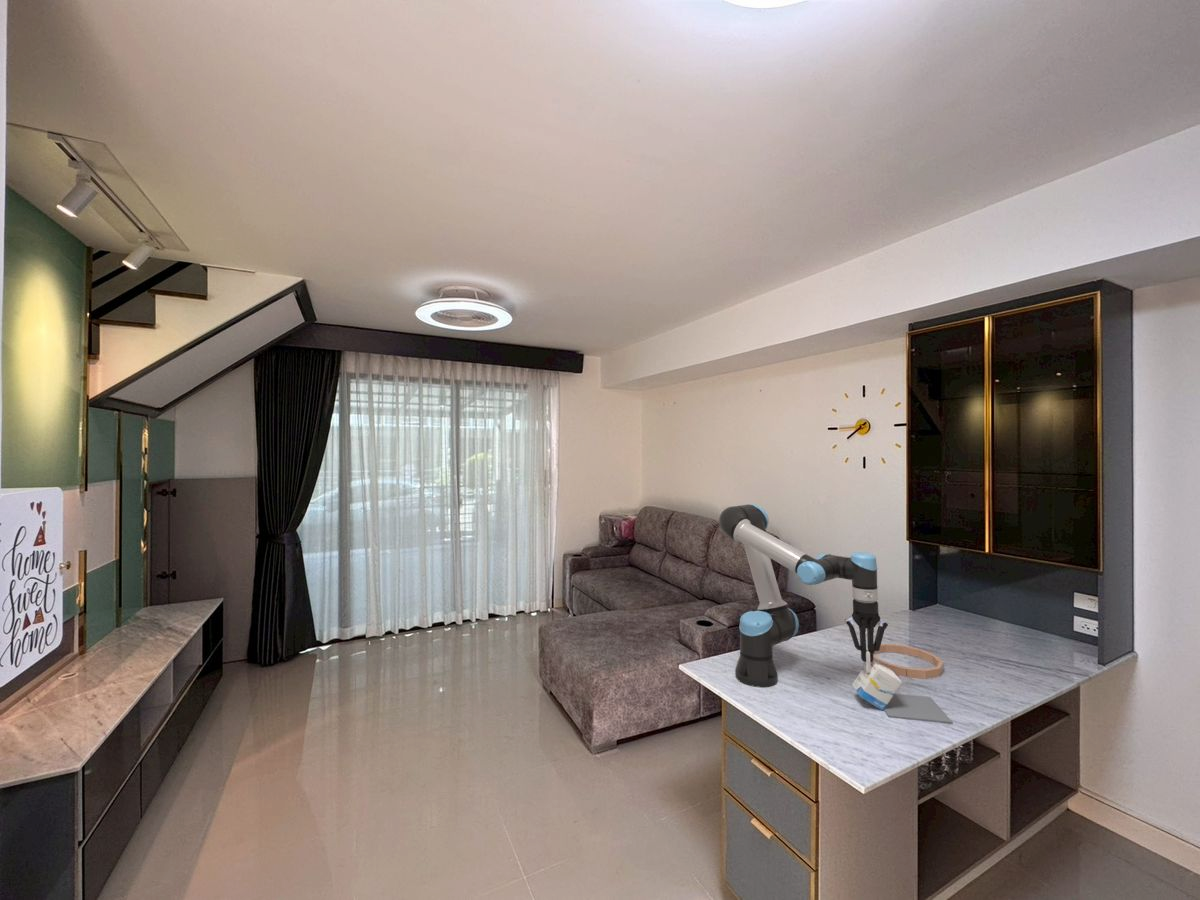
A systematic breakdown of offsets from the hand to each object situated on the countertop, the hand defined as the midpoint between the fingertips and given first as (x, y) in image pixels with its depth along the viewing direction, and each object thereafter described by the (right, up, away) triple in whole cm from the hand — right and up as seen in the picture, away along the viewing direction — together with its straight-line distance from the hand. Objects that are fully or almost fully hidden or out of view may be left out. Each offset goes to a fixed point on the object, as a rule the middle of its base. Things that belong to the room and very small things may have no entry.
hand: (867, 671), depth 165 cm
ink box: (0, -9, +1) cm, 9 cm away
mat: (+13, -11, -2) cm, 17 cm away
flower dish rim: (+31, -11, +31) cm, 45 cm away
